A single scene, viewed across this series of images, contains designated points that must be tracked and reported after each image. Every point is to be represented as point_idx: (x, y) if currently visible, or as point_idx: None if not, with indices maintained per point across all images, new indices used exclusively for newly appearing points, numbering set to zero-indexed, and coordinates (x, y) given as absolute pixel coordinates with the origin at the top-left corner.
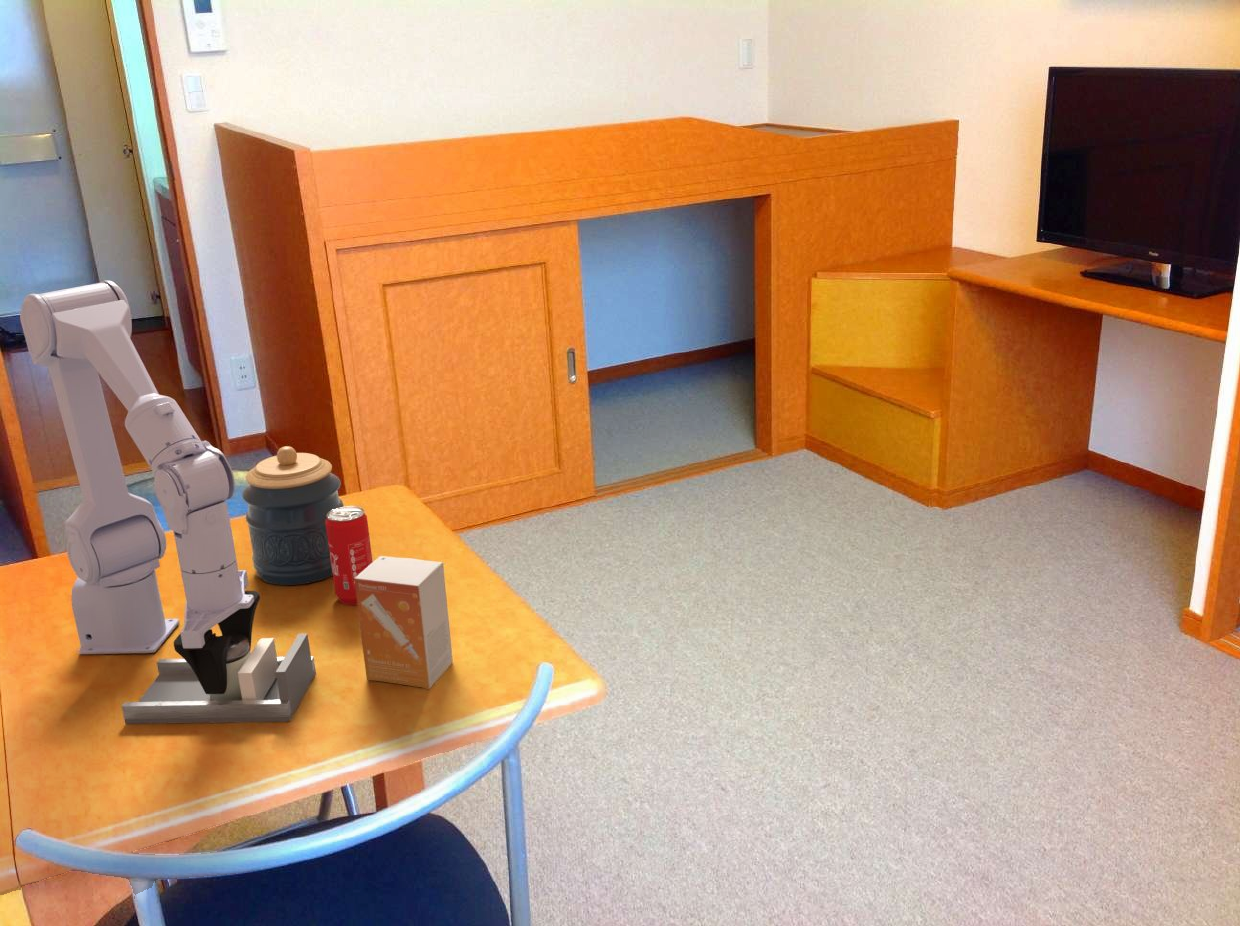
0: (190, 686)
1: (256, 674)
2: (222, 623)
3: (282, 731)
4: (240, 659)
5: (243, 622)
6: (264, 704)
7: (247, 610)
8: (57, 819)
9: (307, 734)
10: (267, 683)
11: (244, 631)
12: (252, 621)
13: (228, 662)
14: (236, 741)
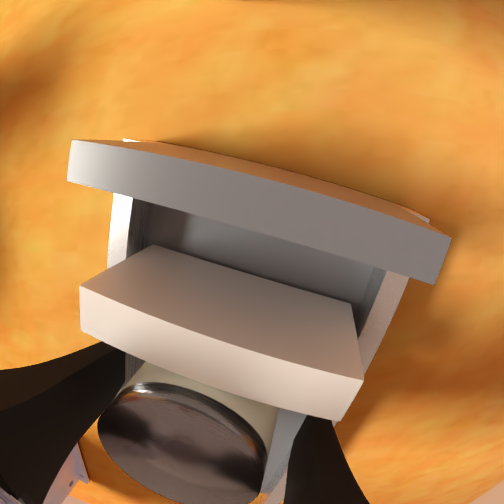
0: None
1: (318, 348)
2: (62, 451)
3: (448, 229)
4: (246, 419)
5: (48, 410)
6: (402, 292)
7: (10, 424)
8: (471, 496)
9: (481, 164)
10: (245, 283)
11: (70, 390)
12: (29, 371)
13: (266, 452)
14: (441, 337)
